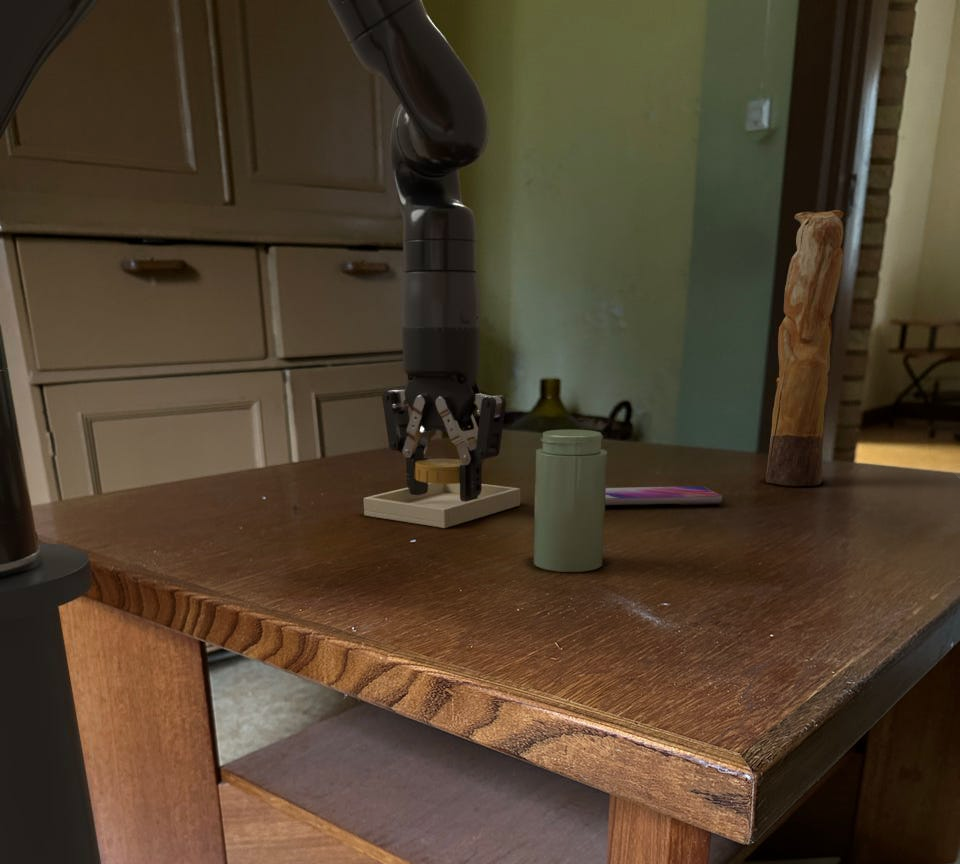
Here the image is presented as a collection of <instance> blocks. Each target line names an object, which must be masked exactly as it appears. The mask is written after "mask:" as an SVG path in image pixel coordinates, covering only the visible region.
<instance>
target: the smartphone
mask: <svg viewBox="0 0 960 864" xmlns="http://www.w3.org/2000/svg"><path fill="white" fill-rule="evenodd" d="M722 502H723V496H722V495H721V494H719V493H718V492H715V491H713V490H711V489H709V488H707V487H705V486H700V485H698V486H697V485H694V486H693V485H692V486H690V485H689V486H640V487H639V486H637V487H635V486H633V487H632V486H631V487H630V486H629V487H606V499H605V506H639V505H640V506H643V505H649V506H650V505H678V506H694V505H695V506H697V505H698V506H699V505H701V506H703V505H719V504H720V503H722Z"/></svg>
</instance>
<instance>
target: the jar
mask: <svg viewBox="0 0 960 864" xmlns="http://www.w3.org/2000/svg"><path fill="white" fill-rule="evenodd" d="M603 439H604V435H603V434H602V432H600V431H596V430H589V429H588V430H587V429H553V430H552V429H551V430H546V431H543V432H542V434H541V438H540V442H541V448H538V449H536V450H535V455H534V457H535V458H534V459H535V461H534V462H535V463H534V509H533V510H534V512H533V513H534V514H533V515H534V516H533V519H534V520H533V562H532V563H533V565H534V566H535V567H537V568H540V569H541V570H546V571H551V572H560V573H582V572H589V571H594V570H597V569H599V568H601V567H602V566H603V564H604V563H603V562H604V543H605V542H604V541H605V540H604V539H605V519H606V505H605V499H606V488H607V475H608V471H607V470H608V455H609V453H608V451H607V450H605V449H602V442H603Z"/></svg>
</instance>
